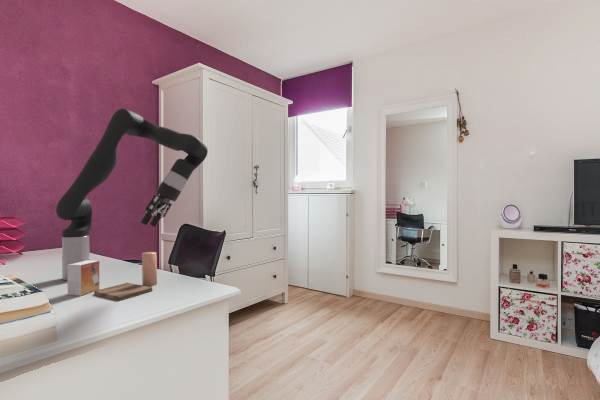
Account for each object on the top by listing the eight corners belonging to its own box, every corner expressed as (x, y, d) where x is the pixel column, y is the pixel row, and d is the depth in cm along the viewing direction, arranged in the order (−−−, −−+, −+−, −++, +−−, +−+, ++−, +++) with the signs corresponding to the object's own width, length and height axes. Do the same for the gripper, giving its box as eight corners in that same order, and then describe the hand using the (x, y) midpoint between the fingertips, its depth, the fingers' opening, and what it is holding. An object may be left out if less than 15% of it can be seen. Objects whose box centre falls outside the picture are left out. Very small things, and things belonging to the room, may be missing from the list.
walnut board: (94, 294, 110) (94, 291, 110) (127, 285, 121) (127, 282, 121) (119, 300, 104) (119, 296, 104) (152, 290, 114) (152, 287, 114)
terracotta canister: (139, 285, 121) (139, 253, 121) (151, 282, 126) (150, 251, 126) (148, 287, 119) (147, 254, 119) (159, 283, 123) (159, 252, 123)
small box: (81, 296, 108) (80, 265, 108) (67, 295, 110) (66, 264, 109) (100, 289, 116) (99, 260, 116) (87, 288, 117) (86, 259, 117)
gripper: (169, 185, 126) (146, 221, 123) (156, 176, 112) (130, 218, 109) (186, 194, 126) (163, 231, 123) (176, 186, 112) (150, 228, 109)
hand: (148, 224), depth 116 cm, fingers open, 8 cm apart
